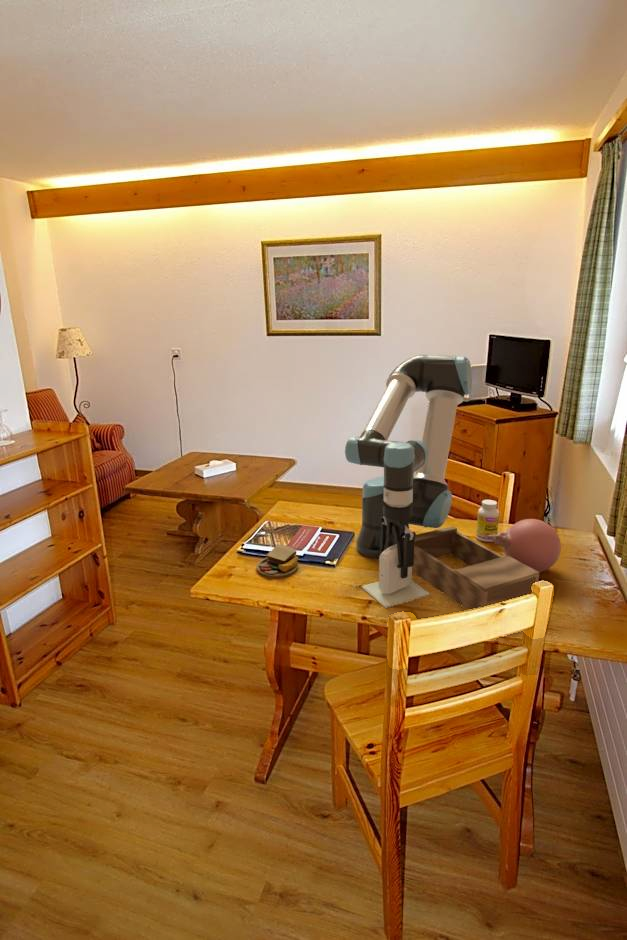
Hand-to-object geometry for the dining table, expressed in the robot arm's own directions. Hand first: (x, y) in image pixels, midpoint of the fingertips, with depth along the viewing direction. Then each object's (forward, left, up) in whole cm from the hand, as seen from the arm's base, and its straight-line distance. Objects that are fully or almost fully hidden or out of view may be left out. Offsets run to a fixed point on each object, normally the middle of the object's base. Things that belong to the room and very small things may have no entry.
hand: (395, 582), depth 152 cm
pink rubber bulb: (+6, +40, -3) cm, 41 cm away
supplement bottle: (-15, +46, -3) cm, 48 cm away
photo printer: (0, 0, -2) cm, 2 cm away
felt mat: (0, 0, -3) cm, 3 cm away
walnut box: (+5, +20, -3) cm, 21 cm away
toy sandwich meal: (-29, -23, -3) cm, 37 cm away
